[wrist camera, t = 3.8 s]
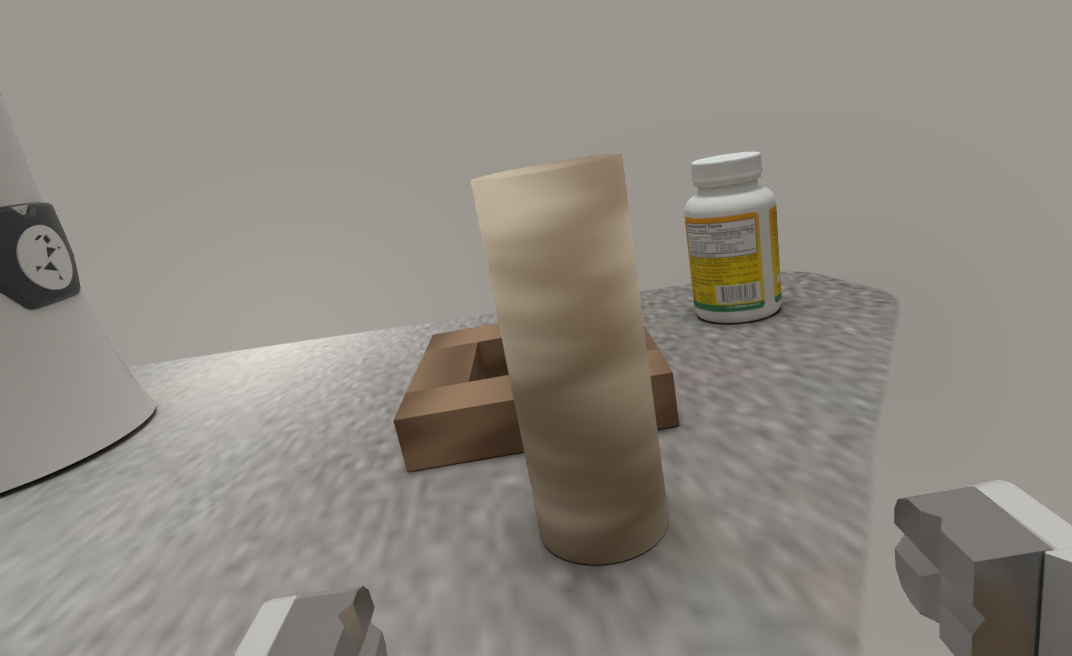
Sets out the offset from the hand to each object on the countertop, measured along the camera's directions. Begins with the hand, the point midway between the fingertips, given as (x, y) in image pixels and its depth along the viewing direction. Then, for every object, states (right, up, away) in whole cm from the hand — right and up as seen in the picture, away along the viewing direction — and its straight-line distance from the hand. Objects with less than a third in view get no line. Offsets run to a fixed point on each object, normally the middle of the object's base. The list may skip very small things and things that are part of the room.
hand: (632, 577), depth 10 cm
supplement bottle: (+11, +5, +31) cm, 33 cm away
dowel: (+1, -3, +12) cm, 12 cm away
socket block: (-1, 0, +24) cm, 24 cm away
